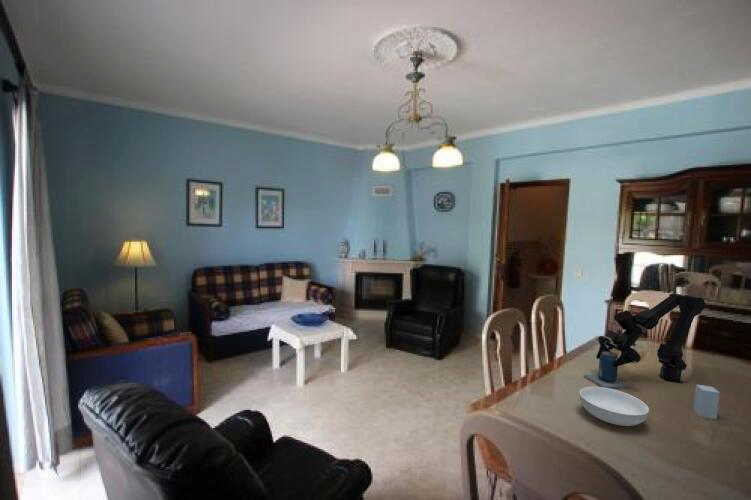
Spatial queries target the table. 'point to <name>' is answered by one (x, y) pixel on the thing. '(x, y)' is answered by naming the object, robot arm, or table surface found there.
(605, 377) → the soda can
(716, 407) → the gray block
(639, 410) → the serving bowl
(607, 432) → the table surface
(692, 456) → the table surface
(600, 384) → the mat
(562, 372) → the table surface
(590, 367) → the table surface
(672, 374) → the robot arm
